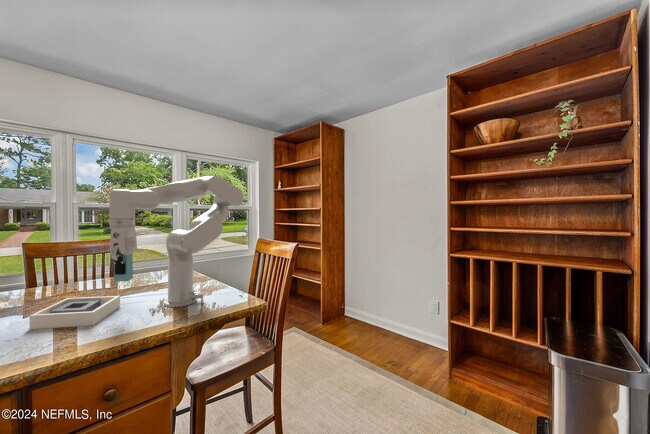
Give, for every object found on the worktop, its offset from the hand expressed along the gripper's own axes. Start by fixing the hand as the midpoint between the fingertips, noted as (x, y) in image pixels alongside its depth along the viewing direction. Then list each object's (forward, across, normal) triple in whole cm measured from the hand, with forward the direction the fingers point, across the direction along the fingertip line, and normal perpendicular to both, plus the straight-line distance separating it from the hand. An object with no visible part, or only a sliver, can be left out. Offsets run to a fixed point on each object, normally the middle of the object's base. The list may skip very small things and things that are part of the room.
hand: (123, 272), depth 100 cm
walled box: (+17, +2, +16) cm, 23 cm away
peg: (+3, 0, 0) cm, 3 cm away
